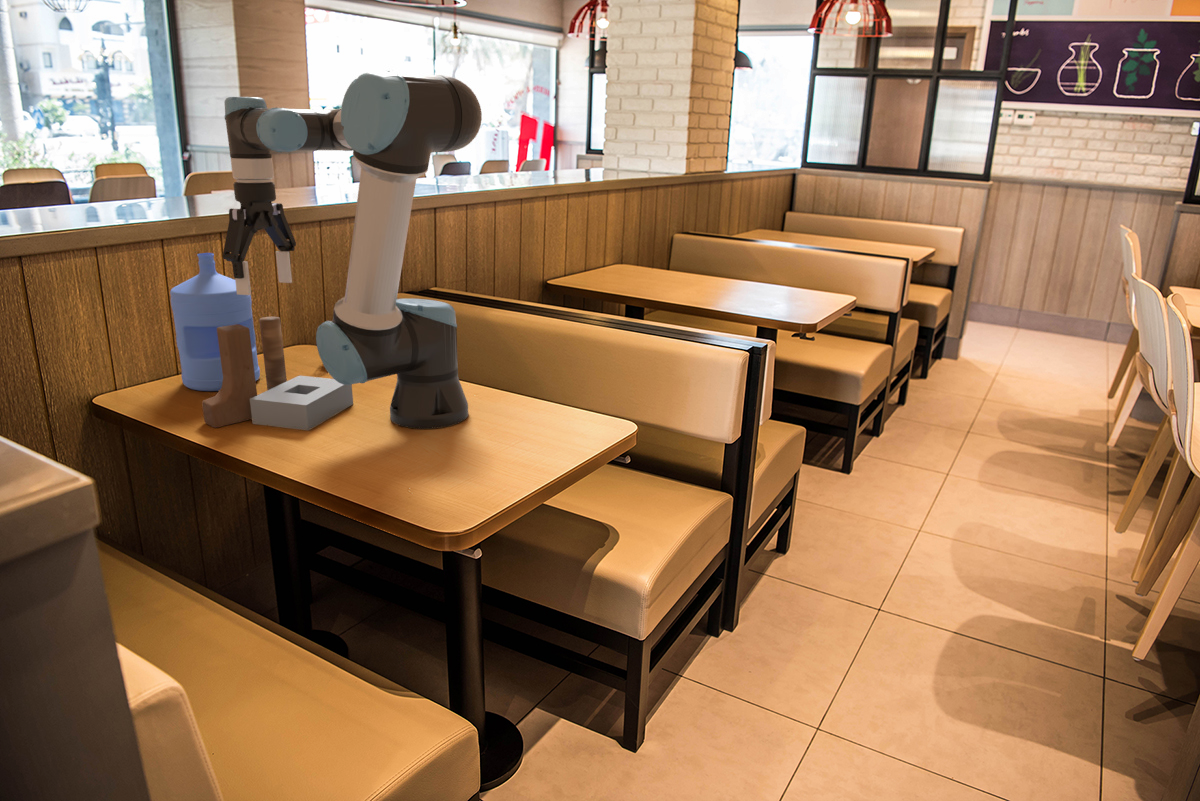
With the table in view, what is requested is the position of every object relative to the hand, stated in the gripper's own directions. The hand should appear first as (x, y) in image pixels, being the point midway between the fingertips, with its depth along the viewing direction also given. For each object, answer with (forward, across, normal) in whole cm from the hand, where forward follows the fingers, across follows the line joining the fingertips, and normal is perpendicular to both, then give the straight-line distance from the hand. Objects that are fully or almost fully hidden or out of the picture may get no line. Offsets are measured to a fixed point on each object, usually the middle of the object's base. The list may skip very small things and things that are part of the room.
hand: (265, 288), depth 168 cm
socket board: (+22, +10, +13) cm, 28 cm away
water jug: (+23, -3, -16) cm, 28 cm away
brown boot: (+22, +17, +2) cm, 29 cm away
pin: (+22, 0, 0) cm, 22 cm away
